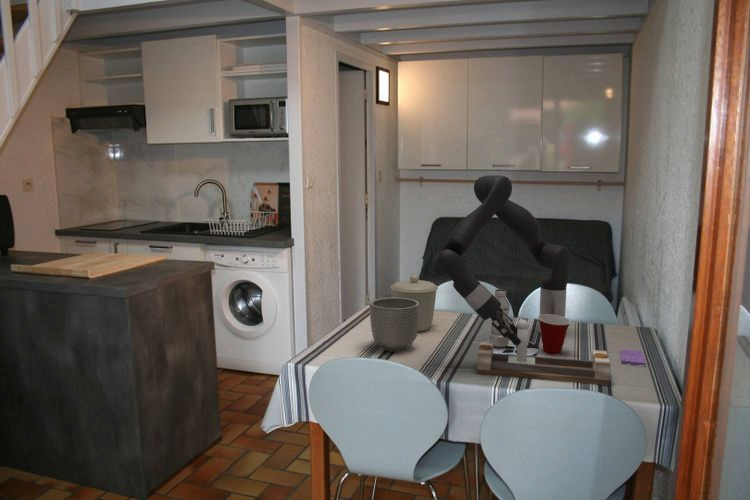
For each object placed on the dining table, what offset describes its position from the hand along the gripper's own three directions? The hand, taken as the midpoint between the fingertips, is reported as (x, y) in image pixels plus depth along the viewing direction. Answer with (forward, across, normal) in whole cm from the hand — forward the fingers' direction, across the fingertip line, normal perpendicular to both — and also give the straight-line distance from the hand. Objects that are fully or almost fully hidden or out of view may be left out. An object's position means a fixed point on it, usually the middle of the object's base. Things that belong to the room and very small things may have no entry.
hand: (519, 339), depth 189 cm
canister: (-21, +38, +36) cm, 56 cm away
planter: (-23, +13, +37) cm, 45 cm away
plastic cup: (+15, +21, 0) cm, 26 cm away
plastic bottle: (+2, +23, +12) cm, 26 cm away
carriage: (+6, 0, +5) cm, 8 cm away
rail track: (+12, 0, +2) cm, 12 cm away
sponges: (+33, +20, -18) cm, 42 cm away
